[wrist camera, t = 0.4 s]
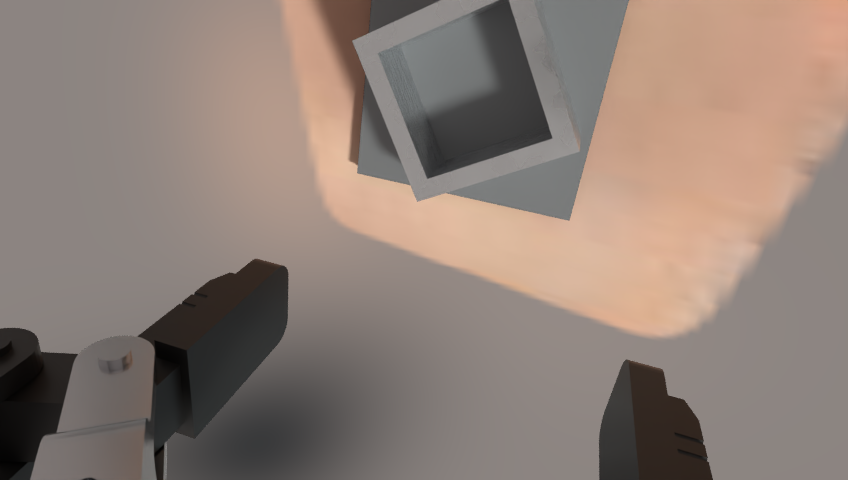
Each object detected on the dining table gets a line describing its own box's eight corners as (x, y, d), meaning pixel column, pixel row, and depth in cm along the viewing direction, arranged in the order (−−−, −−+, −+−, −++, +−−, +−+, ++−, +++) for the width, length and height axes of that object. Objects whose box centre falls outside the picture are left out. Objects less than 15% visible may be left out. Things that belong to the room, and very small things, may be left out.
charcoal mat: (383, -65, 35) (376, -67, 34) (635, -31, 32) (637, -32, 31) (363, 168, 41) (357, 173, 40) (570, 214, 38) (569, 220, 37)
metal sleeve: (378, 36, 36) (352, 40, 32) (530, -33, 32) (522, -38, 28) (434, 181, 39) (417, 201, 35) (581, 134, 35) (579, 151, 31)
